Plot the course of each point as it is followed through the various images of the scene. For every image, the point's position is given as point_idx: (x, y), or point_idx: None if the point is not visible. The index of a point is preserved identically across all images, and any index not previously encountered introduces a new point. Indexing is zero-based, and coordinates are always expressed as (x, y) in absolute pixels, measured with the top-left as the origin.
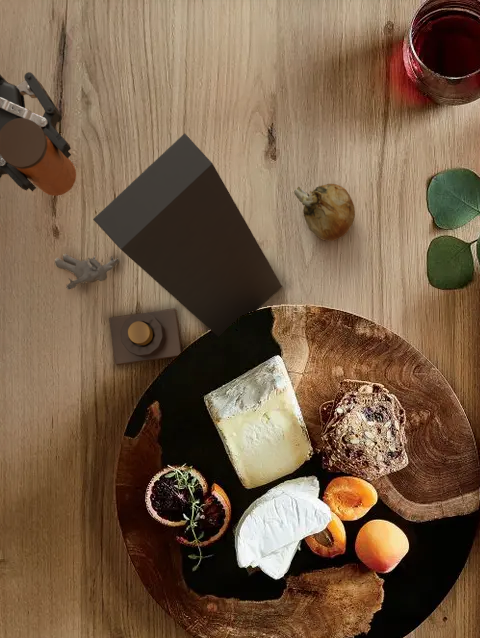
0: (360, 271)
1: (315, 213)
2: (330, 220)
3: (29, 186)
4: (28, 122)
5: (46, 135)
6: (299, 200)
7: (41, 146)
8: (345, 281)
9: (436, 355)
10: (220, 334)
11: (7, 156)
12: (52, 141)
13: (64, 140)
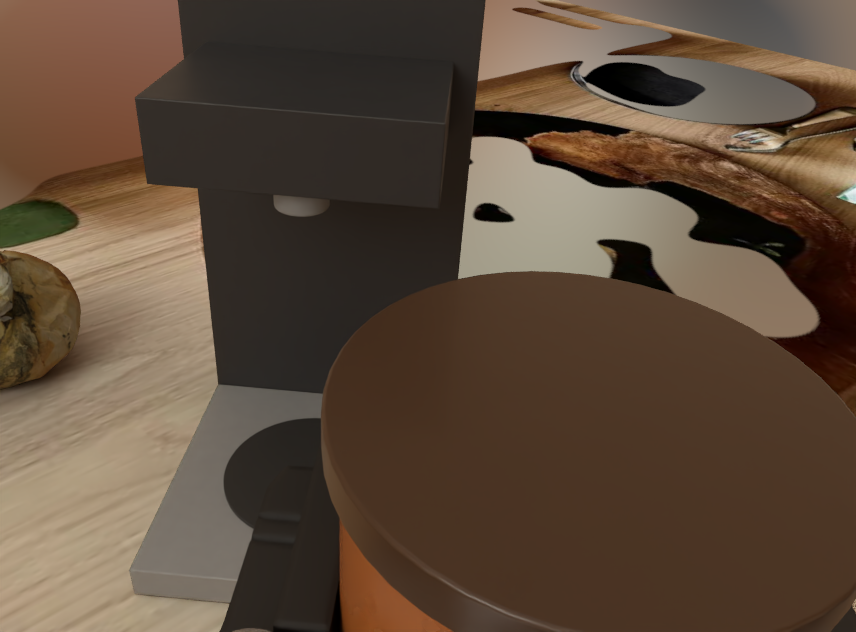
0: (113, 292)
1: (24, 290)
2: (29, 257)
3: None
4: (372, 458)
5: (336, 576)
6: (2, 314)
7: (462, 296)
8: (151, 299)
9: (197, 189)
10: None
11: (809, 417)
12: None
13: (274, 484)
